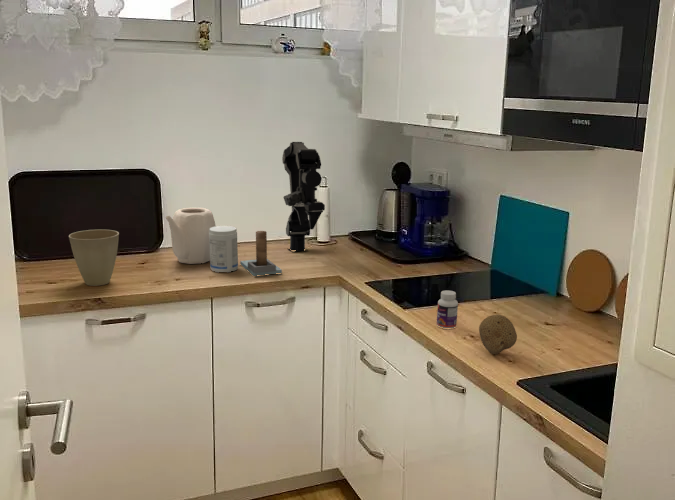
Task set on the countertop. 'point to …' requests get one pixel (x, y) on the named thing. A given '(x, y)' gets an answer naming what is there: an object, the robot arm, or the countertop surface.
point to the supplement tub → (223, 248)
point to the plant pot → (95, 254)
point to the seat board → (260, 268)
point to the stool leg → (261, 248)
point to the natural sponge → (497, 333)
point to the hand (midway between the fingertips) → (306, 227)
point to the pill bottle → (447, 310)
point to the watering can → (191, 234)
